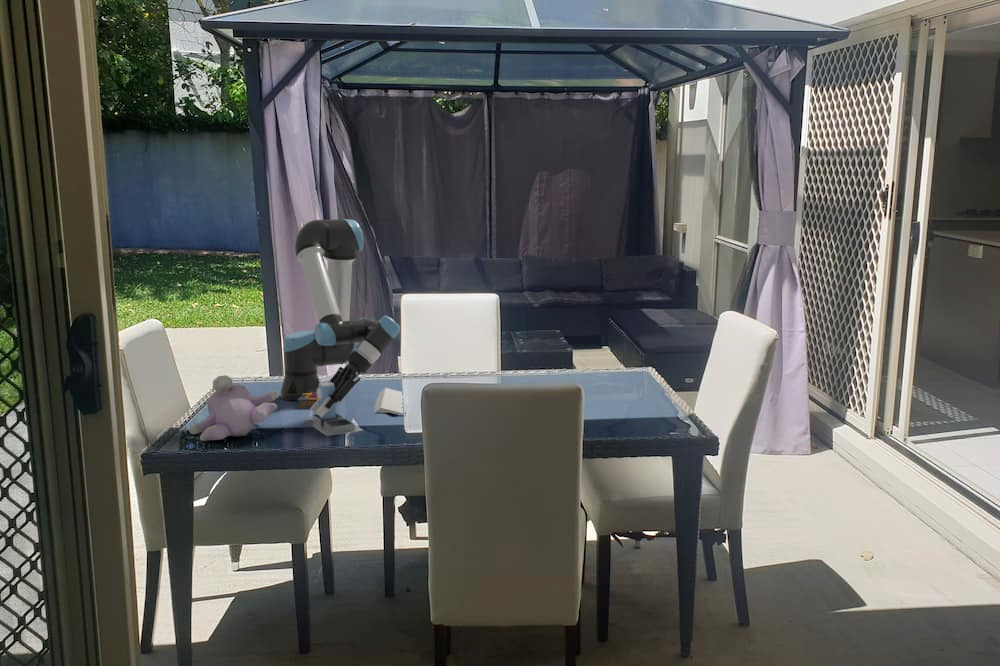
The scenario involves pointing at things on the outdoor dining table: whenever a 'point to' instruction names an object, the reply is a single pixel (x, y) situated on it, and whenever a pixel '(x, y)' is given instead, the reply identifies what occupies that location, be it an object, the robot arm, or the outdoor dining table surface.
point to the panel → (333, 425)
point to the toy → (233, 410)
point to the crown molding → (389, 402)
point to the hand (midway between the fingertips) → (316, 413)
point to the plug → (323, 394)
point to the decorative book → (308, 399)
